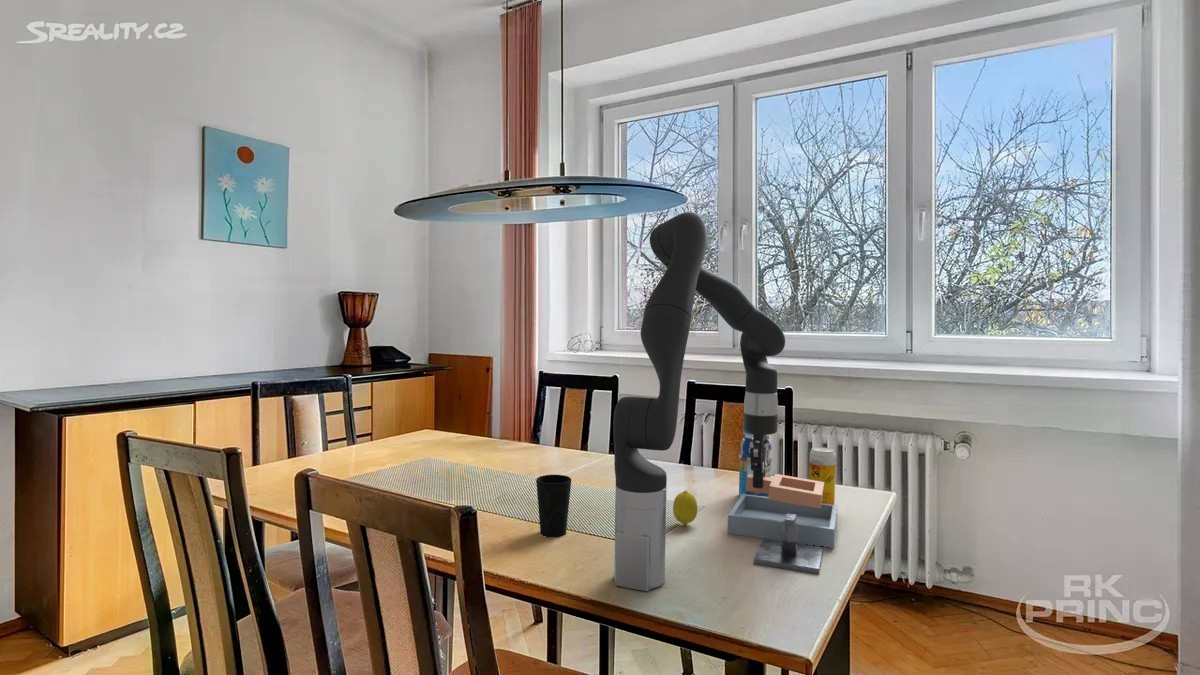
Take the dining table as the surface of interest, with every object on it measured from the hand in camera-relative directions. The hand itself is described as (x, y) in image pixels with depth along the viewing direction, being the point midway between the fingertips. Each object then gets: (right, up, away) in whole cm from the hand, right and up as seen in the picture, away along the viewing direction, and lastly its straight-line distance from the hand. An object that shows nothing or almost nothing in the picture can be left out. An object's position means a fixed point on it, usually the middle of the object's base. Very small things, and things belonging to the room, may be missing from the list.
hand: (758, 485), depth 147 cm
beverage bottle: (+4, -8, +22) cm, 24 cm away
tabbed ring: (+5, -2, -2) cm, 6 cm away
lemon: (-17, -9, -1) cm, 20 cm away
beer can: (+19, -9, +12) cm, 24 cm away
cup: (-47, -9, -8) cm, 48 cm away
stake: (+1, -10, -20) cm, 22 cm away
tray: (+5, -9, -2) cm, 11 cm away
